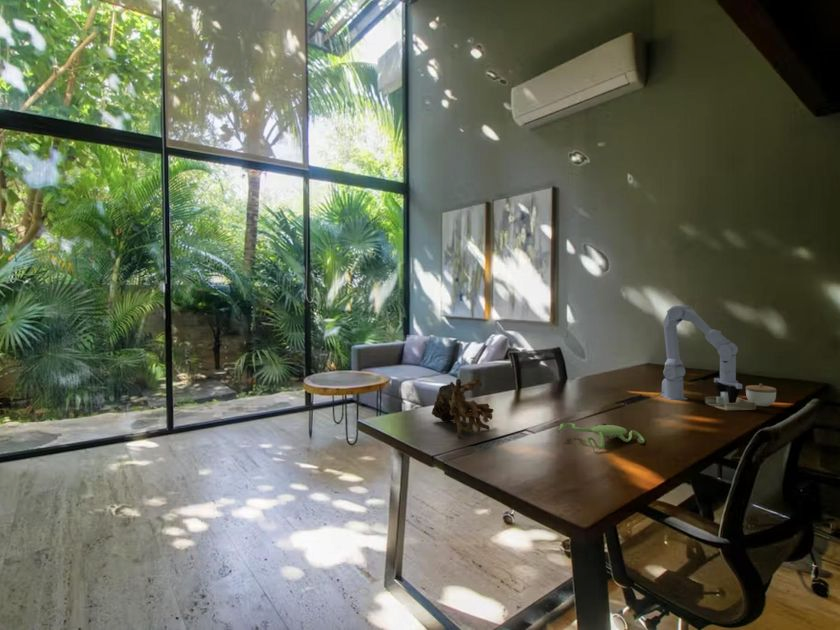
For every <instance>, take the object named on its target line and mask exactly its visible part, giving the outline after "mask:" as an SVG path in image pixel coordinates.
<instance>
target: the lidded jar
mask: <svg viewBox="0 0 840 630" xmlns="http://www.w3.org/2000/svg"><path fill="white" fill-rule="evenodd" d="M758 384H759V385H758ZM758 384H754V385H753V384H751V385H746V386H745V394H746V395H745V396H746V398H747V399H746V400H748V401H751V402H754V403H756V407H757V406H759V407H770V406H771V405H773V403H774V402H775V401H776V397H777V388H775V387H774V386H768V385H763V383H758Z"/></svg>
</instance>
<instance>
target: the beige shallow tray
mask: <svg viewBox="0 0 840 630" xmlns="http://www.w3.org/2000/svg"><path fill="white" fill-rule="evenodd" d="M716 397H719V395H718V396H705V397H704V404H706V405H709V406H711V407H713V408H714V407H715V408H716V409H720V410H724V411H748V410H749V411H752V410H754V411H755V410H757V405H756V403H754V402H751V401H749V400H748V399H744V398H741V397H737V399H736V402H735V403H724V407H723V406H721V403H716Z"/></svg>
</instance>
